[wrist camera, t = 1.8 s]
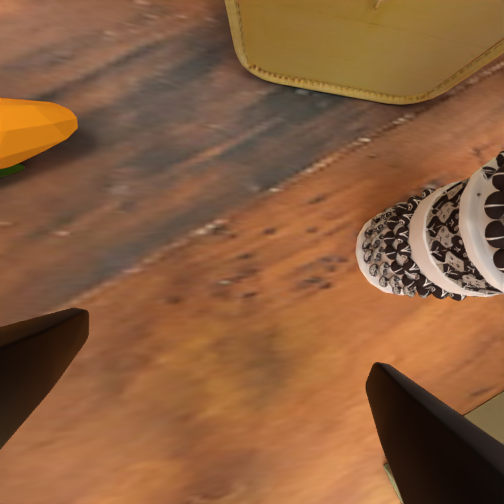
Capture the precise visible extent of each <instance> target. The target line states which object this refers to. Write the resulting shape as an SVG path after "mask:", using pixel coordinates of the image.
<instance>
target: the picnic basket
mask: <svg viewBox="0 0 504 504" xmlns="http://www.w3.org/2000/svg"><path fill="white" fill-rule="evenodd" d="M225 5H226V10H227V15H228V20H229V24H230V29H231V34H232V39H233V44H234V49H235V52H236V54H237V57H238V59H239V61H240V63H241V64H242V65H243V66H244V67H245V68H246V69H247V70H248V71H249V72H250V73H252V74H254V75H255V76H257V77H259V78H261V79H263V80H266V81H269V82H273V83H276V84H282V85H287V86H293V87H298V88H304V89H309V90H315V91H320V92H326V93H331V94H337V95H342V96H347V97H353V98H358V99H364V100H369V101H375V102H380V103H386V104H399V105H403V104H412V103H419V102H422V101H426V100H429V99H433V98H435V97H437V96H439V95H441V94H443V93H445V92H447V91H448V90H450V89H451V88H453V87H454V86H455V85H457V84H458V83H460V82H461V81H463V80H464V79H466V78H467V77H469V76H470V75H472V74H473V73H475V72H476V71H478V70H479V69H481V68H482V67H483V66H485V65H486V64H488V63H489V62H491V61H492V60H494V59H495V58H497V57H498V56H500V55H501V54H503V53H504V0H225Z"/></svg>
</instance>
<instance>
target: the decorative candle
mask: <svg viewBox="0 0 504 504" xmlns="http://www.w3.org/2000/svg"><path fill="white" fill-rule="evenodd" d="M355 254H356V258H357V261H358V265H359V269H360V270H361V272H362V273H363V275H364V276H365V277H366V279H367V280H368V281H369V283H371V284H372V285H374V286H375V287H377V288H378V289H380V290H381V291H383V292H386V293H392V294H397V295H408V296H409V297H413V296H414V295H415V292H418V294H419V296H420V297H421V298H427V296H428V295H430V294H431V293H432V294H433V295H434V296H435V297H436V298H438V299H444V298H446V297H447V296H448V295H449V296H450V297H451V298H452V299H454V300H457V301H460V300H463V299H465V298H466V296H472V297H478V296H480V297H490V296H494V295H498V294H504V151H501V153H500V154H499V155H498V156H496V157H494V158H493V159H491V160H490V161H489V162H487V163H486V164H485V165H483V166H482V167H481V168H479V169H478V170H477V171H475V172H474V173H473V174H472V176H471V177H470V178H467V179H465V180H463V181H458V182H453V183H450V184H448V185H444V186H442V187H440V188H439V189H437V190H435V189H426V190H424V191H423V192H422V194H421V197H419V196H412V197H410V198H409V200H408V203H406V202H399V203H397V204H395V205H394V206H393V207H392V208H387V209H385V210H384V211H383V213H380V214H377V215H376V216H374V217H373V218H372V219H370V220H369V221H368V222H366V223H365V224H364V226H363V228H362V229H361V231H360V233H359V235H358V236H357V242H356V251H355Z"/></svg>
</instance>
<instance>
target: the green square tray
mask: <svg viewBox="0 0 504 504" xmlns="http://www.w3.org/2000/svg"><path fill="white" fill-rule="evenodd" d="M464 417H465V418H466V419H468V420H469V421H471V422H472V423H473V424H475V425H476V426H478V427H479V428H481V429H482V430H483V431H485V432H486V433H488V434H489V435H491V436H492V437H493V438H495V439H496V440H498V441H499V442H501V443H502V444H503V445H504V391H503V392H502V393H500V394H499V395H497V396H495V397H494V398H492V399H491V400H489V401H487V402H486V403H484V404H482V405H481V406H479V407H478V408H476V409H474V410H473V411H471V412H470V413H468V414H466V415H465V416H464ZM383 467H384V469H385V471H386V473H387V475H388V477H389V479H390V481H391V483H392V485H393V487H394V489H395V491H396V493H397V495H398V497H399V499H400V501H401V503H402V504H403V501H402V499H401V496H400V493H399V491H398V488H397V485H396V483H395V480H394V477H393V475H392V472H391V469H390V467H389V464H388V463H387V464H385V465H384V466H383Z"/></svg>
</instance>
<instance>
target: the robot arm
mask: <svg viewBox="0 0 504 504" xmlns="http://www.w3.org/2000/svg"><path fill="white" fill-rule="evenodd" d="M88 335H89V313H88V311H87V310H84V309H79V308H70V309H66V310H62V311H59V312H55V313H51V314H48V315H44V316H40V317H36V318H33V319H29V320H25V321H22V322H18V323H14V324H10V325H7V326H3V327H0V449H1V448H2V447H3V446H4V445H5V443H6V442H7V441H8V440H9V439H10V438H11V436H12V435H13V434H14V433H15V432H16V431H17V429H18V428H19V427H20V426H21V425H22V424H23V422H24V421H25V420H26V419H27V418H28V417H29V415H30V414H31V413H32V412H33V411H34V410H35V408H36V407H37V406H38V405H39V404H40V402H41V401H42V400H43V399H44V398H45V397H46V395H47V394H48V393H49V392H50V391H51V389H52V388H53V387H54V385H55V384H56V383H57V381H58V380H59V379H60V377H61V376H62V375H63V373H64V372H65V370H66V369H67V367H68V366H69V365H70V363H71V362H72V360H73V359H74V358H75V356H76V355H77V353H78V352H79V351H80V349H81V348H82V346H83V345H84V344H85V342H86V340H87V338H88ZM366 393H367V397H368V400H369V404H370V407H371V411H372V414H373V418H374V422H375V425H376V429H377V432H378V436H379V439H380V442H381V445H382V448H383V451H384V454H385V456H386V459H387V461H388V464H389V467H390V469H391V472H392V475H393V477H394V480H395V483H396V485H397V488H398V491H399V493H400V496H401V499H402V501H403V504H504V445H503V444H502V443H501V442H499V441H498V440H496V439H495V438H493V437H492V436H491V435H489V434H488V433H486V432H485V431H483V430H482V429H481V428H479V427H478V426H476V425H475V424H473V423H472V422H471V421H469V420H468V419H466V418H465V417H464V416H462V415H461V414H459V413H458V412H456V411H455V410H454V409H452V408H451V407H449V406H448V405H446V404H445V403H444V402H442V401H441V400H439V399H438V398H436V397H435V396H434V395H432V394H431V393H429V392H428V391H426V390H425V389H424V388H422V387H421V386H419V385H418V384H416V383H415V382H414V381H412V380H411V379H409V378H408V377H406V376H405V375H404V374H402V373H401V372H399V371H398V370H396V369H395V368H394V367H392V366H391V365H389V364H385V363H380V362H376V363H374V364H373V366H372V368H371V371H370V373H369V376H368V379H367V381H366Z"/></svg>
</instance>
